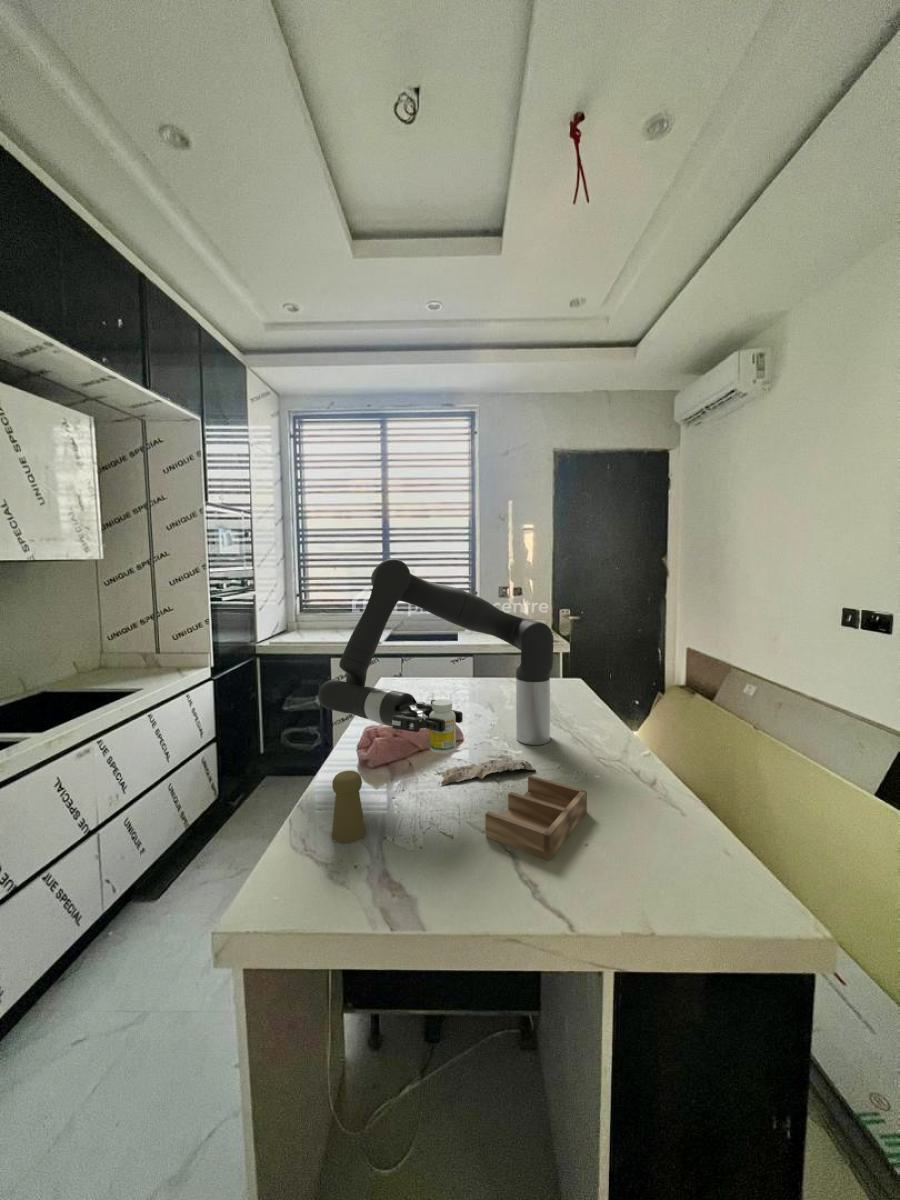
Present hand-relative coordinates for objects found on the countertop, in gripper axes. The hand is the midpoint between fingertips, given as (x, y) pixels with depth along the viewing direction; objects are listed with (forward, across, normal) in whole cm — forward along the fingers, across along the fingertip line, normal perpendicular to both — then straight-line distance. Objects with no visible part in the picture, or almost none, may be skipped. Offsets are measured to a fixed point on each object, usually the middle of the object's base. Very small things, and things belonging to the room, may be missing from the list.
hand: (452, 721), depth 88 cm
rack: (+16, +4, +17) cm, 24 cm away
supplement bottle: (-3, 0, +6) cm, 7 cm away
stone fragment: (-3, +16, +18) cm, 24 cm away
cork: (-11, -18, +17) cm, 27 cm away
